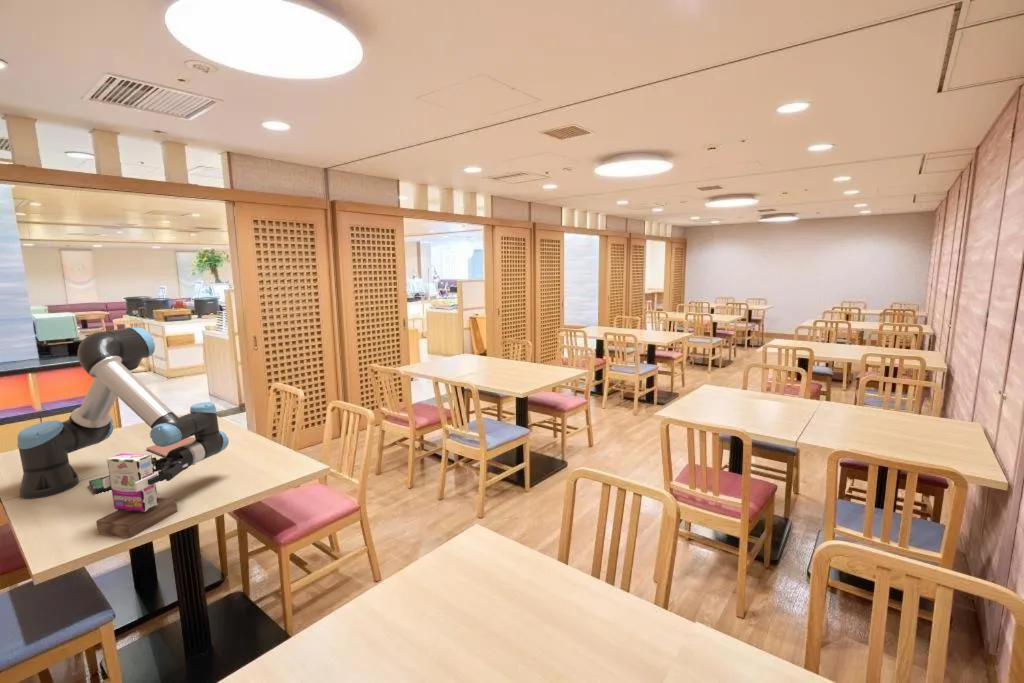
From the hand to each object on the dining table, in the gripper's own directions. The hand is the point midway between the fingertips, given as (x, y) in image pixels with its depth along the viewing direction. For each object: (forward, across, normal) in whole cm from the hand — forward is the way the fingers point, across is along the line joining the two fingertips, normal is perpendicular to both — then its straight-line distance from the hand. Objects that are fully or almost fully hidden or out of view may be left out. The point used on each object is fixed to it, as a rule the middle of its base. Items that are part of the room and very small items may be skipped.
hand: (119, 485), depth 139 cm
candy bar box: (-4, 0, -9) cm, 10 cm away
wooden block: (-4, 0, -14) cm, 15 cm away
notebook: (-56, +39, -15) cm, 70 cm away
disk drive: (-24, +34, -15) cm, 44 cm away
